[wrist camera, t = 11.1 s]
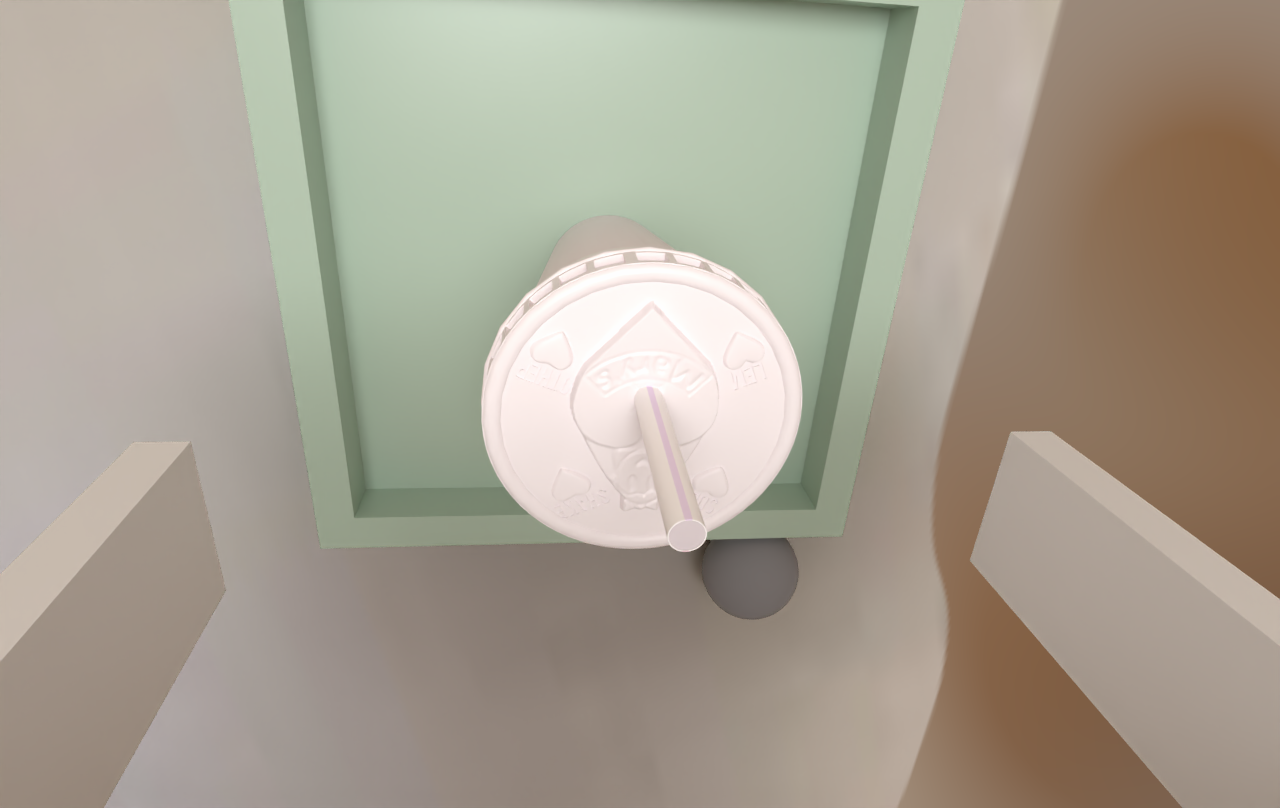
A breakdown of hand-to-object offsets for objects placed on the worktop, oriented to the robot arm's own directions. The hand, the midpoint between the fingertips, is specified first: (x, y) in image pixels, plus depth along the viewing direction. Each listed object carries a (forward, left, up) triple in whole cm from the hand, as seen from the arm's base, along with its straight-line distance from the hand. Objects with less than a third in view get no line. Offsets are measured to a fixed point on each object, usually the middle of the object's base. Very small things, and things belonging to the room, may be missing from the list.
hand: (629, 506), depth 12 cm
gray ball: (+6, -11, -13) cm, 18 cm away
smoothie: (+1, 0, -12) cm, 12 cm away
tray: (0, 0, -13) cm, 13 cm away
